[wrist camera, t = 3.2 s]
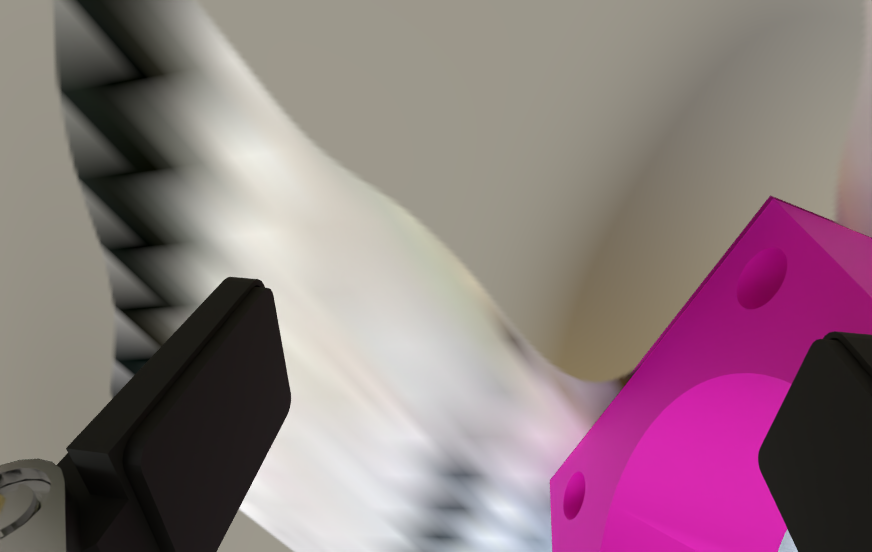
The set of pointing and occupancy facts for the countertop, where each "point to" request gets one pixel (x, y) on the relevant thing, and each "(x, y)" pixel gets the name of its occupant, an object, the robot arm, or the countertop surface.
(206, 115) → the countertop surface
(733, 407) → the toy block
